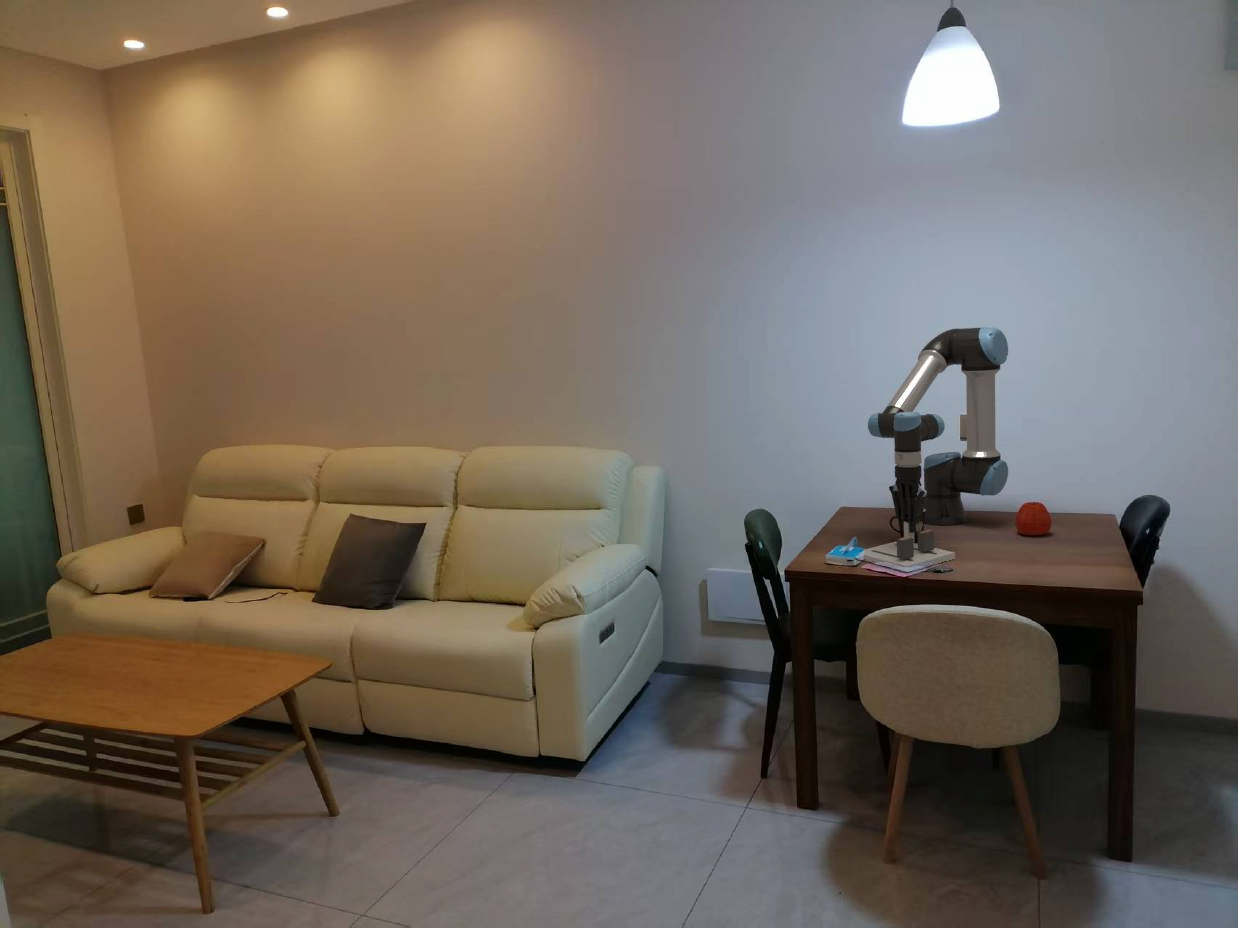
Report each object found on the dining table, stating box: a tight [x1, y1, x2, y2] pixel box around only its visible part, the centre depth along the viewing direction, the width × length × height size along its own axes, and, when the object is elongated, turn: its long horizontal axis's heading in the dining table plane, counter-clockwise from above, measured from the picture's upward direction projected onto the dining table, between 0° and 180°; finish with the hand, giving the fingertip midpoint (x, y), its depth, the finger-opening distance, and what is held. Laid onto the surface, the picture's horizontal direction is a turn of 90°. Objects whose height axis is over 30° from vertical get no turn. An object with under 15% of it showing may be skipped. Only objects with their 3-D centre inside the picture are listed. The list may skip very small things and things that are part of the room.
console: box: [863, 540, 956, 567], centre depth 258 cm, size 20×20×2 cm
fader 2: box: [917, 529, 935, 552], centre depth 257 cm, size 4×2×6 cm, turn 121°
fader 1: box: [896, 537, 914, 560], centre depth 251 cm, size 4×2×6 cm, turn 121°
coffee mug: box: [889, 509, 926, 544], centre depth 277 cm, size 12×9×10 cm
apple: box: [1014, 501, 1052, 536], centre depth 275 cm, size 10×10×10 cm
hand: (909, 542), depth 263 cm, fingers closed
